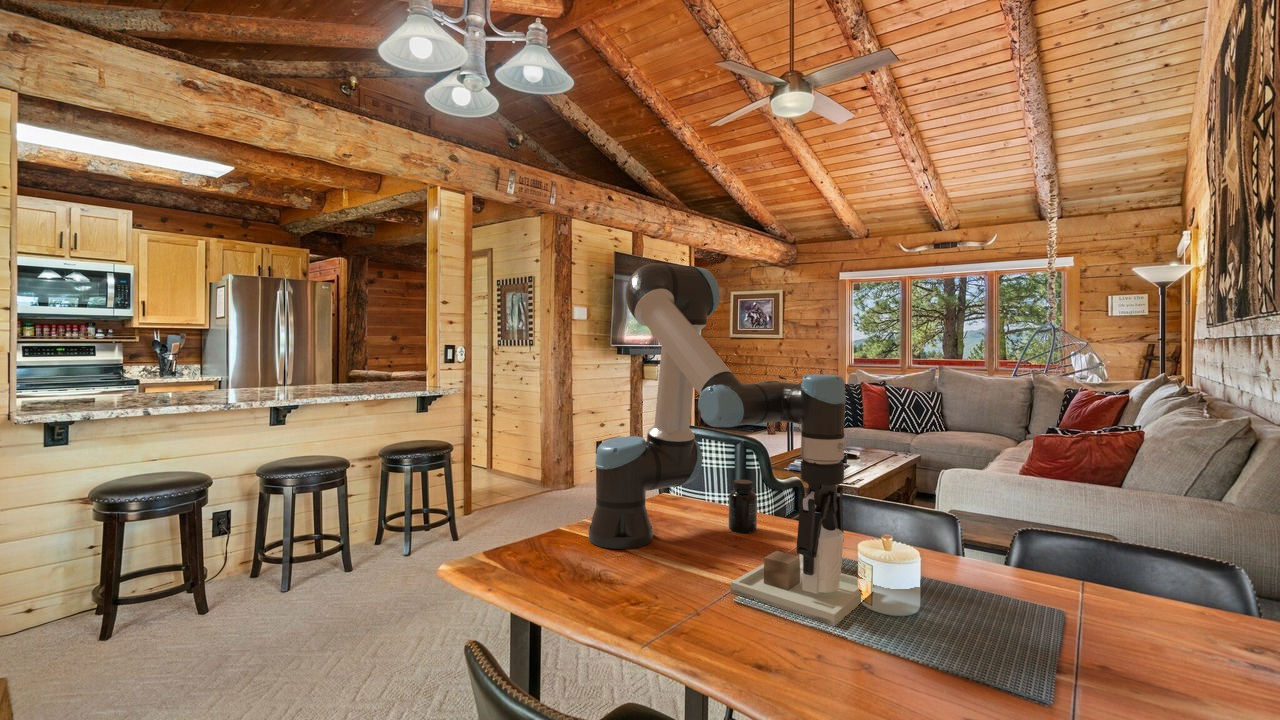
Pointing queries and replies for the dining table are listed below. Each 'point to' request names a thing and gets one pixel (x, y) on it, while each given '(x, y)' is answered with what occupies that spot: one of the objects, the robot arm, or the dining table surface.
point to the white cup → (828, 559)
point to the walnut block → (782, 570)
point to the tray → (801, 597)
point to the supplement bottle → (742, 507)
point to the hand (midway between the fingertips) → (820, 583)
